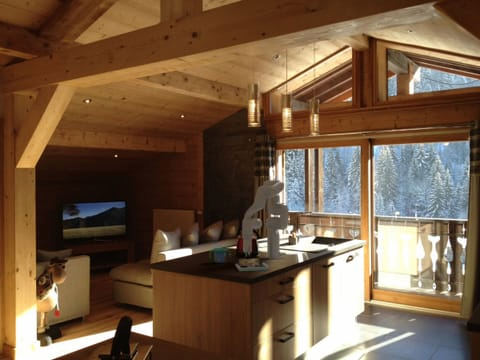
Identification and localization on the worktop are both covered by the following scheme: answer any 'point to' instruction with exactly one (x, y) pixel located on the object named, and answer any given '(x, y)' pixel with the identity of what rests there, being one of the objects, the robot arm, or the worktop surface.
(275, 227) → the robot arm
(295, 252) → the worktop surface
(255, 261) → the T block
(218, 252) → the snack cup
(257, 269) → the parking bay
